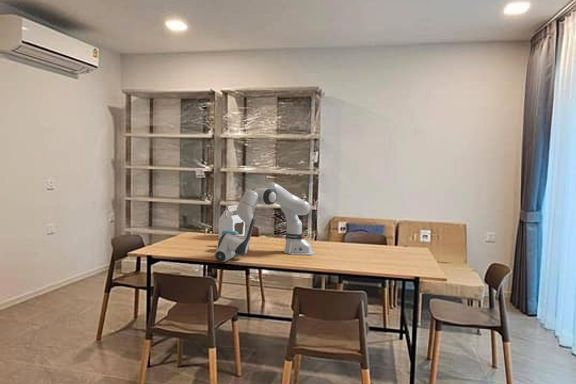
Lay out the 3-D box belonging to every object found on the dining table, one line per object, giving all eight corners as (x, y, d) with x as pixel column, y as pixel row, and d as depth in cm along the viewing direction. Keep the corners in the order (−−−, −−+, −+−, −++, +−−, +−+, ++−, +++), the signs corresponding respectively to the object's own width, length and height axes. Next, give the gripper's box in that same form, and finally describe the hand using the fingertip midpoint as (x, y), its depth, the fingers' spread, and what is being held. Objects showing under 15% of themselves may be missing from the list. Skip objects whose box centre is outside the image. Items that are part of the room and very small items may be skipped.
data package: (238, 246, 330) (238, 231, 329) (235, 248, 326) (236, 232, 325) (223, 245, 333) (224, 230, 333) (221, 246, 329) (221, 230, 328)
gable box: (232, 241, 353) (233, 207, 351) (218, 239, 358) (219, 206, 356) (244, 237, 374) (245, 205, 372) (231, 235, 379) (232, 204, 377)
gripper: (243, 248, 281) (249, 244, 295) (214, 245, 285) (221, 242, 299) (243, 257, 282) (249, 253, 295) (213, 255, 286) (221, 251, 299)
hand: (235, 248), depth 297 cm, fingers closed
